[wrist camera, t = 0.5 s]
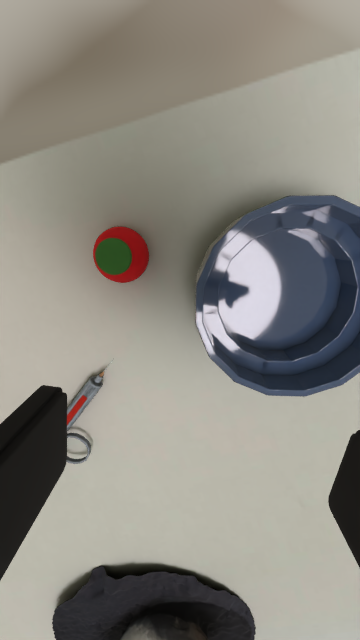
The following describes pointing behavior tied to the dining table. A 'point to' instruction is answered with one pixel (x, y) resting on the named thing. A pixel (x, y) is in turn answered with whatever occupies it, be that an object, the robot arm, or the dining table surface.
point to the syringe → (79, 406)
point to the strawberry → (121, 254)
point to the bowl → (284, 296)
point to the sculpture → (151, 610)
